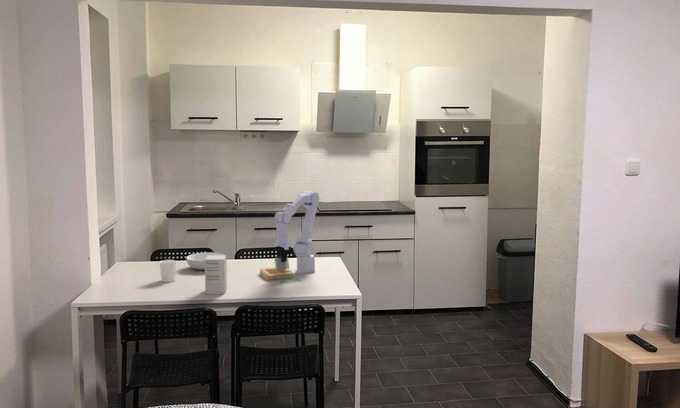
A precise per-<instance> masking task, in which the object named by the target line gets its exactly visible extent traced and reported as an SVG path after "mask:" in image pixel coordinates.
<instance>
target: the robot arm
mask: <svg viewBox="0 0 680 408" xmlns="http://www.w3.org/2000/svg"><path fill="white" fill-rule="evenodd" d="M319 202H320V195H319V193H318V192H317V191H307V190H306V191H305V190H301V191H300V192H299V193H298V195H297V198H296V199H295V200H294V201H293V202H292V203H287V204H286V206H285V207H284V208H282V209H281V211H277V212H276V213H275V214H274V217H273V221H274V223H275V226H276V241H275V243H273V244H274V246H275V247H274V249H275V250H276V253H277V258H278V257H281V261H282V262H286V260H287V257H288V254H289V252H290V251H291V248H289V243H288V242H289V240H288V239H289V238H288V237H289V235H288V234H289V232H288V230H289V229H288V226H289V225H288V223H289V222H290V221H291V218H292V217H293V216H294V215H295V214H296V212H297V209H298V208H299V207H301V206H303V207H304V208H305V209H306V211H305V215H304V220H303V225H302V229H301V234H300V237H298V238H297V239H296V241H295V243H294V244H293V253H294V254H295V256H296V269H294V271H295V272H297V273H298V274H305V273H315V272H316V269H315V268H316V260H315V256H314V255H313V252H314V242H313V240H312V239H311V236H312V233H313V232H312V231H313V227H314V223H315V222H314V221H315V217H316V214H317V213H316V212H317V208H318V207H319Z"/></svg>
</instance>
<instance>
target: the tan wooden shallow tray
mask: <svg viewBox="0 0 680 408" xmlns="http://www.w3.org/2000/svg"><path fill="white" fill-rule="evenodd" d="M259 275H260V276H261V277H262V278H264V279H265V280H266V281H270V280H275V279H281V278H290V277H294V276H293V275H294V272H293V271H292V270H290V268H289V269H285V270H281V271H278V270H276V266H271V267H262V268H261V267H260V268H259Z"/></svg>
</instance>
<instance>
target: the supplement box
mask: <svg viewBox="0 0 680 408" xmlns="http://www.w3.org/2000/svg"><path fill="white" fill-rule="evenodd" d="M227 267H228V266H227V255H225V254H223V255H208V256H207V257H206V259H205V270H204V285H205V287H204V288H205V295H225V294H226V292H227V290H228V274H227V273H228V272H227V271H228V270H227Z"/></svg>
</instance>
